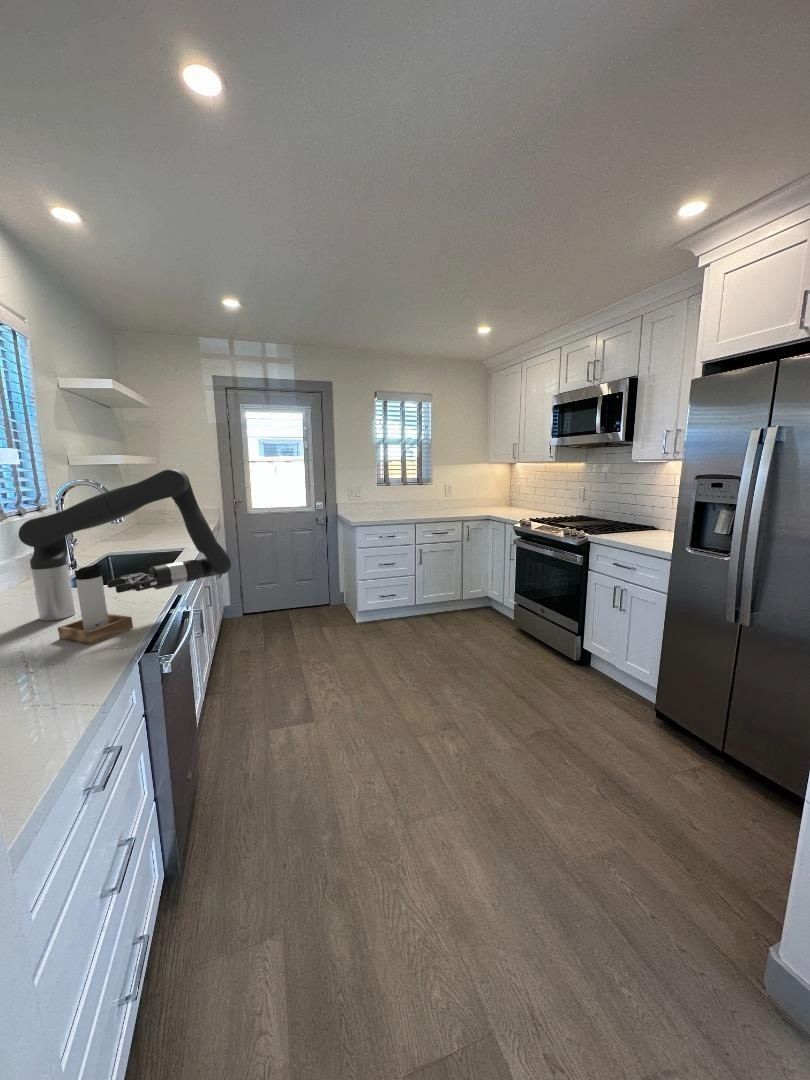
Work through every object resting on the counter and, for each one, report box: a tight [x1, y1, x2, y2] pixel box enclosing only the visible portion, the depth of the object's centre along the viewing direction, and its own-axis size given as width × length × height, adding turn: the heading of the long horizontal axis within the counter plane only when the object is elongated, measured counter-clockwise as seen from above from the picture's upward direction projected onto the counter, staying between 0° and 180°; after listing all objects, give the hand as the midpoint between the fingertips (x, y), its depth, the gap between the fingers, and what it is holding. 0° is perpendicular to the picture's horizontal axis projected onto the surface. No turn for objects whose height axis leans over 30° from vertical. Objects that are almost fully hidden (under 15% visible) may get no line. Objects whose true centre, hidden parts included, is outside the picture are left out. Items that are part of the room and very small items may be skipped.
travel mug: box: [74, 564, 109, 631], centre depth 130 cm, size 6×7×20 cm
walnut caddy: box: [57, 613, 134, 646], centre depth 131 cm, size 13×13×4 cm
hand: (111, 586), depth 133 cm, fingers open, 8 cm apart
